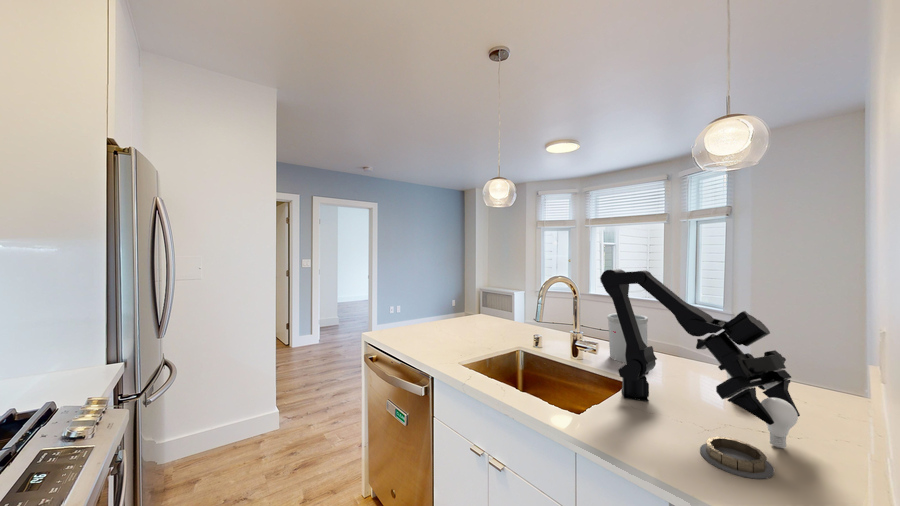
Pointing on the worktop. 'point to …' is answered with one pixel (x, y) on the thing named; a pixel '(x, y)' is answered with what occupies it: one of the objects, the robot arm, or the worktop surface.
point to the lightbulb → (779, 419)
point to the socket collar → (733, 463)
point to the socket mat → (738, 455)
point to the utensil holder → (618, 340)
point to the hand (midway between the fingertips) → (785, 420)
